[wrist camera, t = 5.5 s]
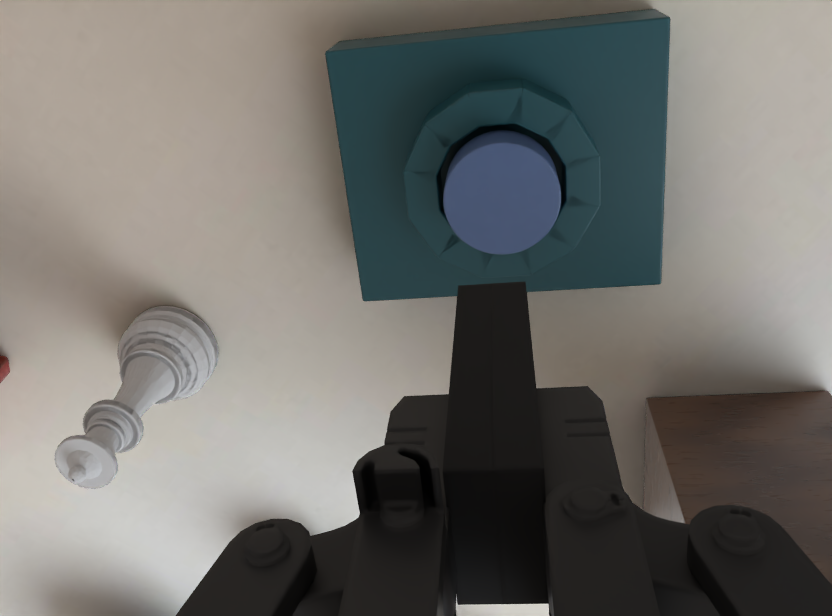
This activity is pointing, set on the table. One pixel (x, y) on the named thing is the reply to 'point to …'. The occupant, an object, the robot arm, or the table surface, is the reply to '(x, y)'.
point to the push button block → (514, 111)
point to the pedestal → (745, 461)
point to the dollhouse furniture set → (4, 367)
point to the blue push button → (502, 192)
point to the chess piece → (140, 390)
